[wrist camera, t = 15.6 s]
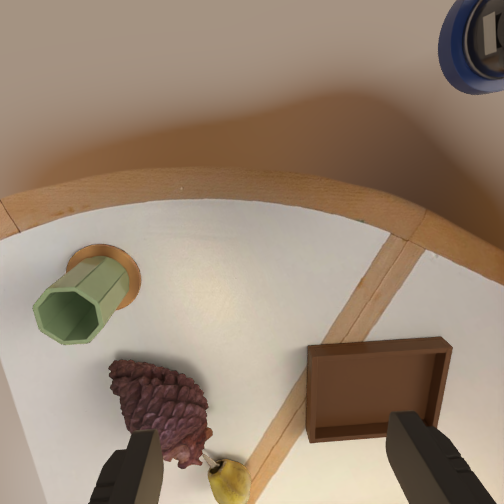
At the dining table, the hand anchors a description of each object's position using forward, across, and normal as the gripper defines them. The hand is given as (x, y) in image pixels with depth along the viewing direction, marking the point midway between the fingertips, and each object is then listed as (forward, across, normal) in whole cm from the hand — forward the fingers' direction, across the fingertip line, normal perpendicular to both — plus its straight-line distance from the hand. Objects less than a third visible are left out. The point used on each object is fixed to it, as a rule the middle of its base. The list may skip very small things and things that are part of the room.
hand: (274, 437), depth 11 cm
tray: (+30, -18, +26) cm, 44 cm away
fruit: (+30, +5, +40) cm, 50 cm away
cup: (+30, +18, +6) cm, 35 cm away
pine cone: (+30, +12, +23) cm, 40 cm away
